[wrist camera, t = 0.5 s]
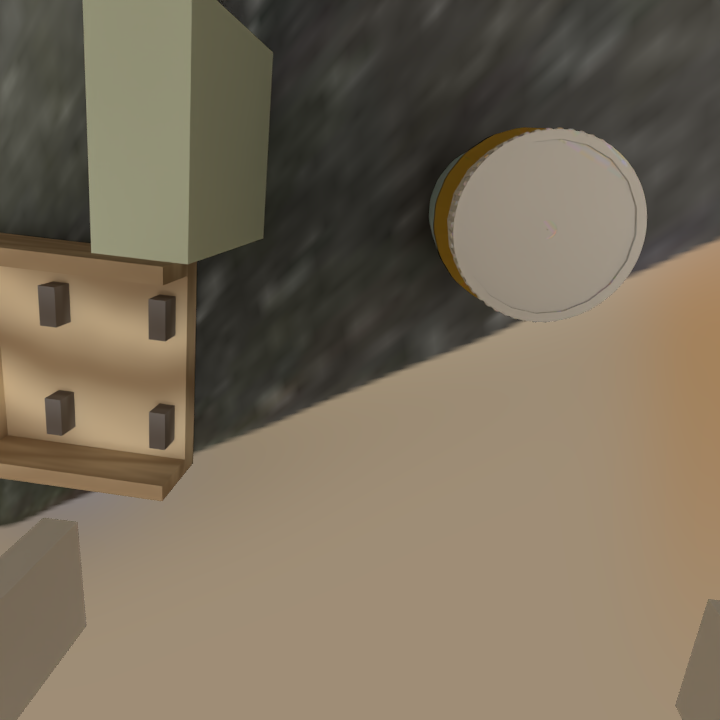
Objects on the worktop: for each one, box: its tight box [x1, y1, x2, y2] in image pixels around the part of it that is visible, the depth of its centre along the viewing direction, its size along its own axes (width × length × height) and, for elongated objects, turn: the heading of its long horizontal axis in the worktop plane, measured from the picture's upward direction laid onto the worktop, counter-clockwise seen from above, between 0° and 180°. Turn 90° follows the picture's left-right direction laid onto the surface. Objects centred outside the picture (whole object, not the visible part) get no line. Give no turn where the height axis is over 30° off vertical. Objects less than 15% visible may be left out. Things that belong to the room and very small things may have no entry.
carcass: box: [0, 233, 197, 501], centre depth 35 cm, size 14×13×5 cm
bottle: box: [429, 128, 647, 322], centre depth 26 cm, size 7×7×15 cm
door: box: [83, 0, 273, 264], centre depth 28 cm, size 10×5×12 cm, turn 174°
